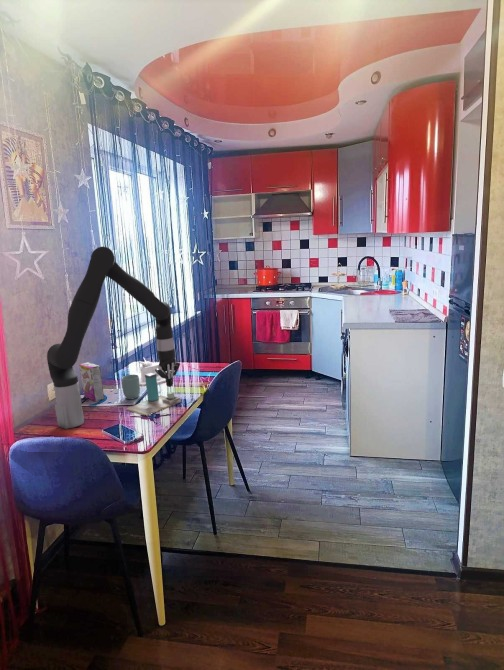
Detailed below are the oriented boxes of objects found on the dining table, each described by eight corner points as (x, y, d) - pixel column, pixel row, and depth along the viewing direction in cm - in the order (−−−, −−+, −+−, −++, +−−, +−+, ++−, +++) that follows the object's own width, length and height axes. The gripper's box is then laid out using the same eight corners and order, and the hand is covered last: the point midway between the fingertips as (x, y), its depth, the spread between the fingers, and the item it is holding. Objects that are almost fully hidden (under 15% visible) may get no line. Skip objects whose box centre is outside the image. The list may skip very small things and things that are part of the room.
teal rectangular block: (152, 402, 207) (149, 375, 205) (147, 400, 210) (144, 374, 207) (159, 399, 210) (156, 373, 207) (154, 398, 212) (151, 372, 210)
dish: (126, 389, 231) (123, 367, 229) (127, 375, 255) (124, 355, 253) (176, 382, 237) (174, 361, 234) (172, 369, 261) (170, 350, 258)
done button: (170, 400, 205) (170, 394, 204) (166, 399, 207) (165, 393, 206) (176, 398, 207) (175, 392, 207) (171, 396, 209) (170, 391, 209)
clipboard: (147, 416, 194) (146, 411, 193) (126, 409, 202) (125, 405, 202) (181, 401, 208) (180, 397, 208) (160, 396, 217) (159, 392, 216)
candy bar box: (83, 397, 222) (78, 364, 219) (93, 394, 226) (88, 361, 222) (95, 402, 215) (90, 367, 211) (105, 399, 218) (100, 365, 215)
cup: (136, 400, 213) (134, 379, 211) (120, 400, 215) (118, 379, 213) (143, 394, 221) (141, 374, 219) (128, 394, 222) (126, 374, 220)
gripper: (159, 352, 195) (164, 392, 199) (182, 345, 205) (186, 383, 209) (148, 350, 200) (152, 389, 204) (171, 343, 210) (175, 380, 214)
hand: (170, 386), depth 206 cm, fingers closed
